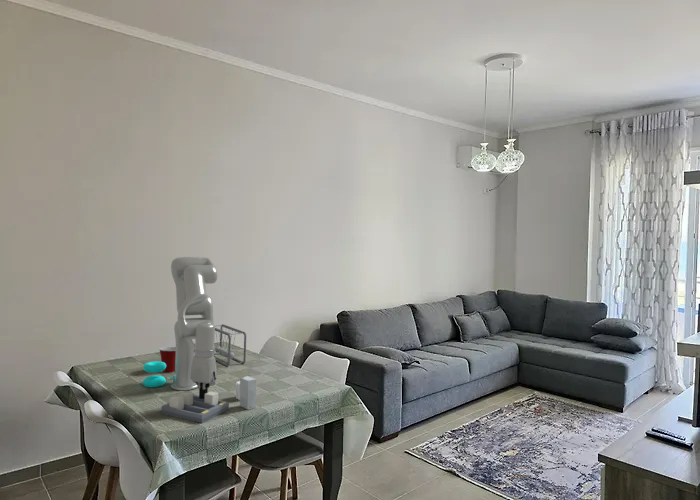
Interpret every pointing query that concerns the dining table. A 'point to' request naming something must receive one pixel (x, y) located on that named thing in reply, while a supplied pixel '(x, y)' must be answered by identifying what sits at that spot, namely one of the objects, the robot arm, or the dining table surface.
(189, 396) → the tab middle
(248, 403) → the skincare box
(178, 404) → the white cube
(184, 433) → the dining table surface
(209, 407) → the switch bank
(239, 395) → the grey cylinder
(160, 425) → the dining table surface
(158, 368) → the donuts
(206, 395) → the tab inner
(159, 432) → the dining table surface
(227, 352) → the newton's cradle
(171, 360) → the plastic cup
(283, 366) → the dining table surface
